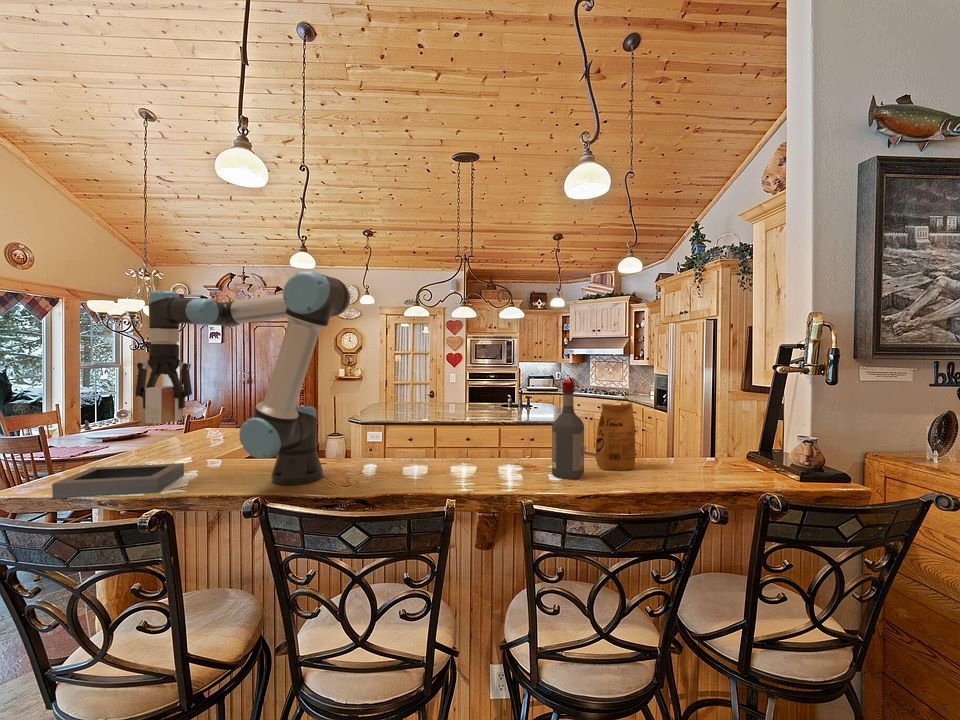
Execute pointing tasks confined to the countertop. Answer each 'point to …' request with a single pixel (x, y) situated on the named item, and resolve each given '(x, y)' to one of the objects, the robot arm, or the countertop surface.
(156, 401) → the small box
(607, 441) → the coffee package
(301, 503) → the countertop surface
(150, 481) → the tray
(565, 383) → the liquor
